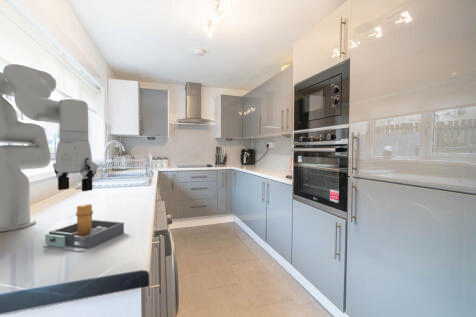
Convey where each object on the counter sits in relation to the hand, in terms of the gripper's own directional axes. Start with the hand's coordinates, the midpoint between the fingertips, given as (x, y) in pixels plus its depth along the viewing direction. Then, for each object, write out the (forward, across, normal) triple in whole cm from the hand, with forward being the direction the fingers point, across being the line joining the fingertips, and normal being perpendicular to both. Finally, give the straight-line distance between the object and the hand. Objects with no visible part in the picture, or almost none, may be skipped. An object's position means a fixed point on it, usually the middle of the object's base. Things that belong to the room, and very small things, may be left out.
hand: (75, 190), depth 70 cm
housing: (+16, +4, 0) cm, 16 cm away
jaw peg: (+15, +2, +1) cm, 16 cm away
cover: (+15, +1, -7) cm, 17 cm away
